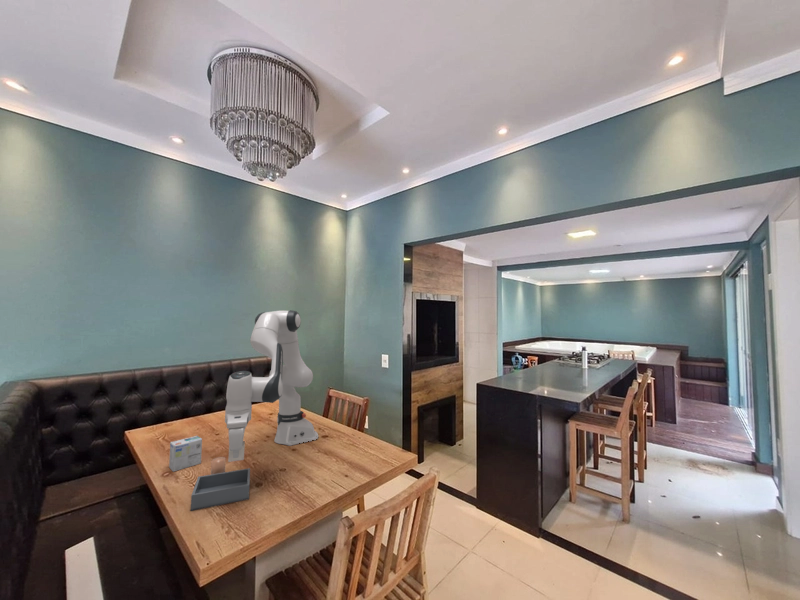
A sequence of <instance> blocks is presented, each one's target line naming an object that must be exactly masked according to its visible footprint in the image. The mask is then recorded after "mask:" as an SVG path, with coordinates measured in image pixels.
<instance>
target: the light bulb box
mask: <svg viewBox="0 0 800 600" xmlns="http://www.w3.org/2000/svg"><path fill="white" fill-rule="evenodd" d="M202 449H203V438H201V437H200V436H198V435H195V436H190V437H186V438H182V439H178V440H173V441H170V443H169V464H168V467H169V469H170V470H171V471H172V472H173V473H174V472H177V471H180V470H184V469H186V468H190V467H194V466H197V465H200V464H202V452H203V451H202Z"/></svg>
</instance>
